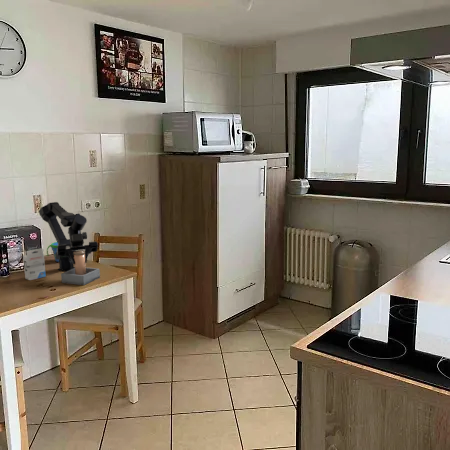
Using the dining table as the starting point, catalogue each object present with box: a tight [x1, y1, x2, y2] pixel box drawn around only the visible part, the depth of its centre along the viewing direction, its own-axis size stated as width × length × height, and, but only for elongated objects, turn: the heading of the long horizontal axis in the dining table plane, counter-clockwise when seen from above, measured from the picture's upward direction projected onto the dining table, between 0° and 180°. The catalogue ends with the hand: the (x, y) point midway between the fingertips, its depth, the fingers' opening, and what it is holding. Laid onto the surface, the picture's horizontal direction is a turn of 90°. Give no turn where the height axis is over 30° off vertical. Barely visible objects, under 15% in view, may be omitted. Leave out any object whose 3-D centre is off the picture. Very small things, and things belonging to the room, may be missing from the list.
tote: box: [60, 267, 101, 286], centre depth 219 cm, size 13×13×4 cm
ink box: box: [22, 247, 46, 281], centre depth 223 cm, size 8×5×15 cm, turn 136°
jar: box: [73, 250, 87, 275], centre depth 218 cm, size 5×5×12 cm
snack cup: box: [46, 241, 59, 263], centre depth 255 cm, size 16×10×10 cm
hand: (80, 263), depth 216 cm, fingers closed on jar, 5 cm apart
